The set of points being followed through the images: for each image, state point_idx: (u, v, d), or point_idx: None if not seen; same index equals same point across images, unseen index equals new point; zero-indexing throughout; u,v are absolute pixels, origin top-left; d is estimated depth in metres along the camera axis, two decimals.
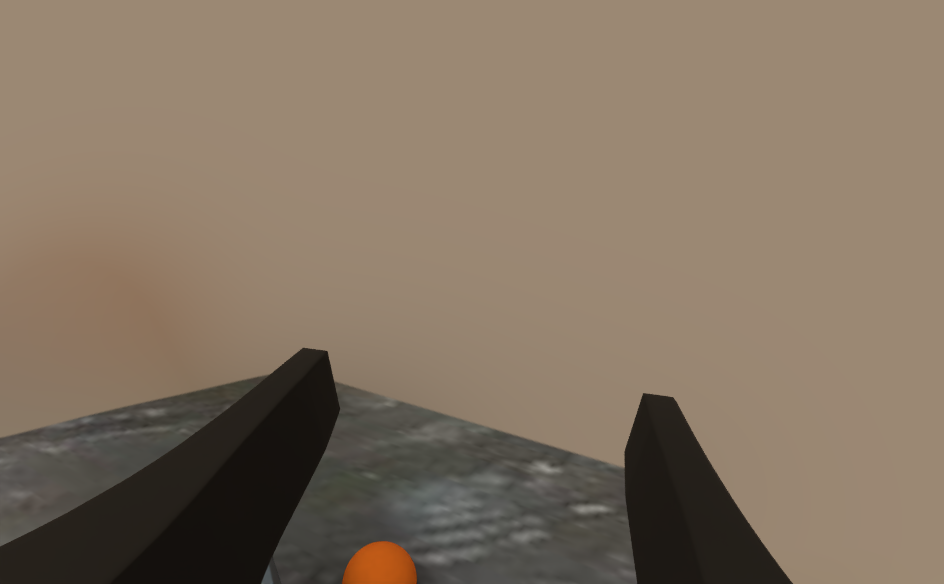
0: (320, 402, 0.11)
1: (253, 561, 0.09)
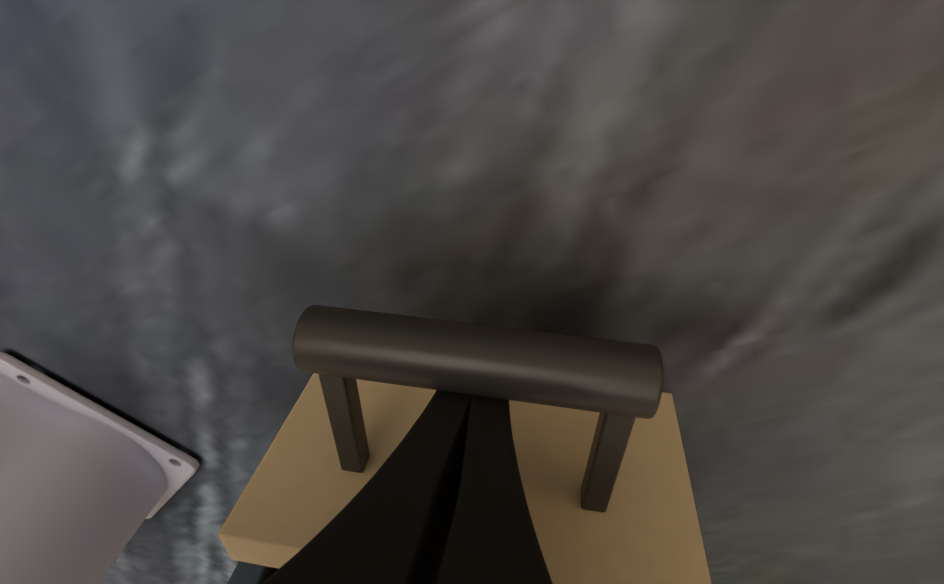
0: None
1: None
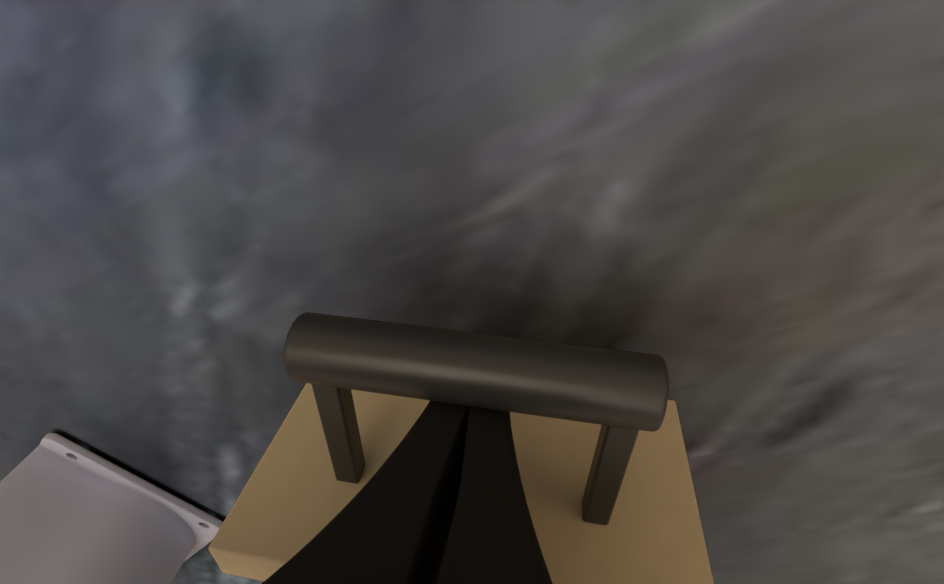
0: None
1: None
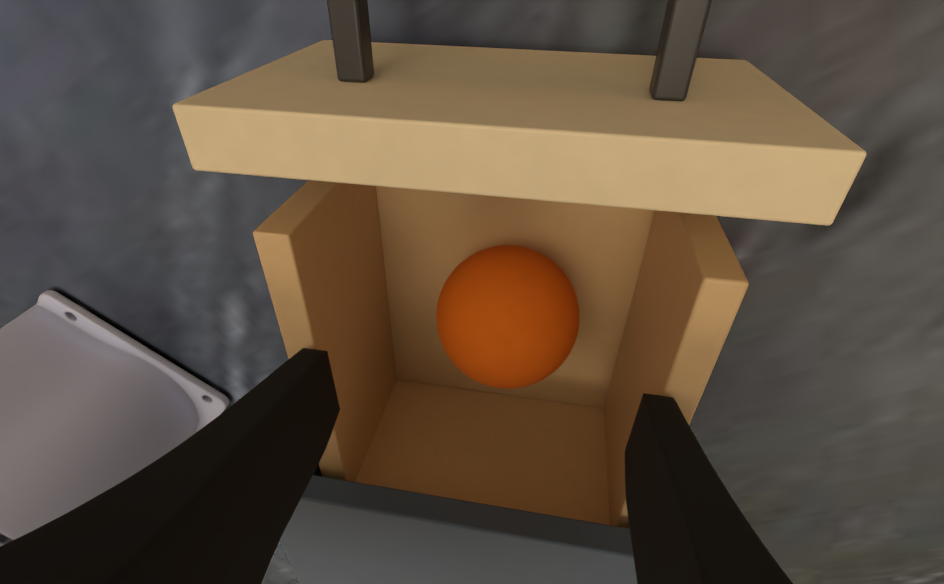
0: (320, 402, 0.11)
1: (253, 561, 0.09)
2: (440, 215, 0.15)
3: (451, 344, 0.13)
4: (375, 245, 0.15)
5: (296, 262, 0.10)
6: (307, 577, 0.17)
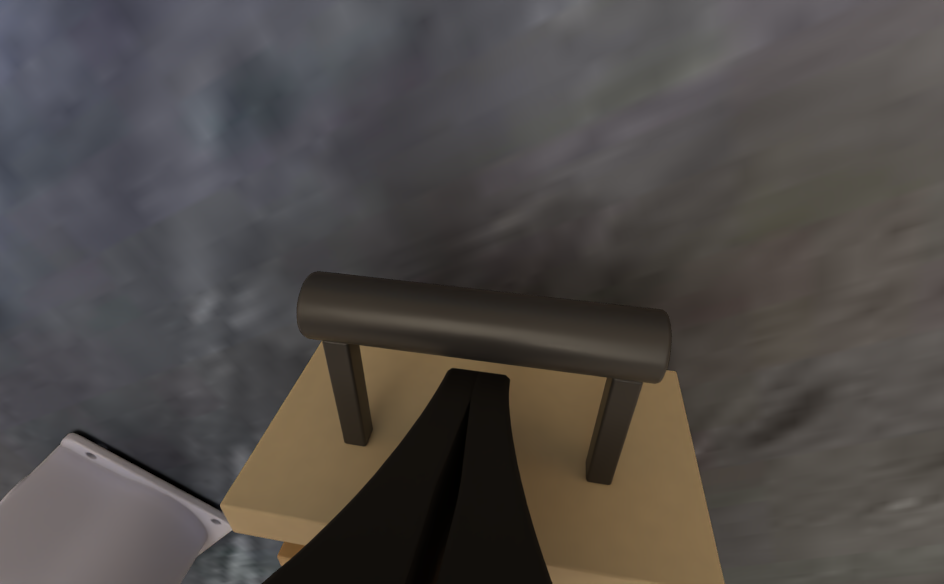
0: None
1: None
2: None
3: None
4: None
5: None
6: None
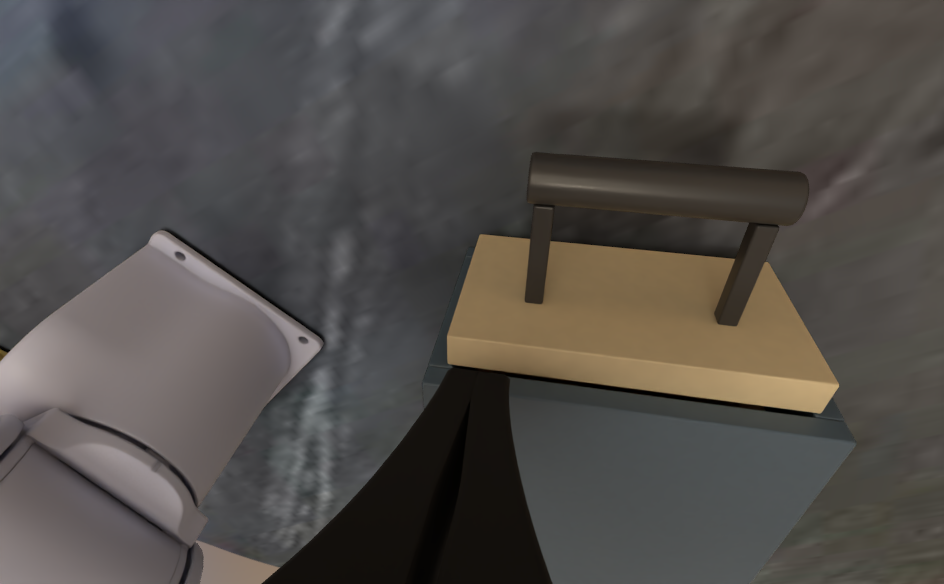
0: None
1: None
2: None
3: None
4: None
5: None
6: None
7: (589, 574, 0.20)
